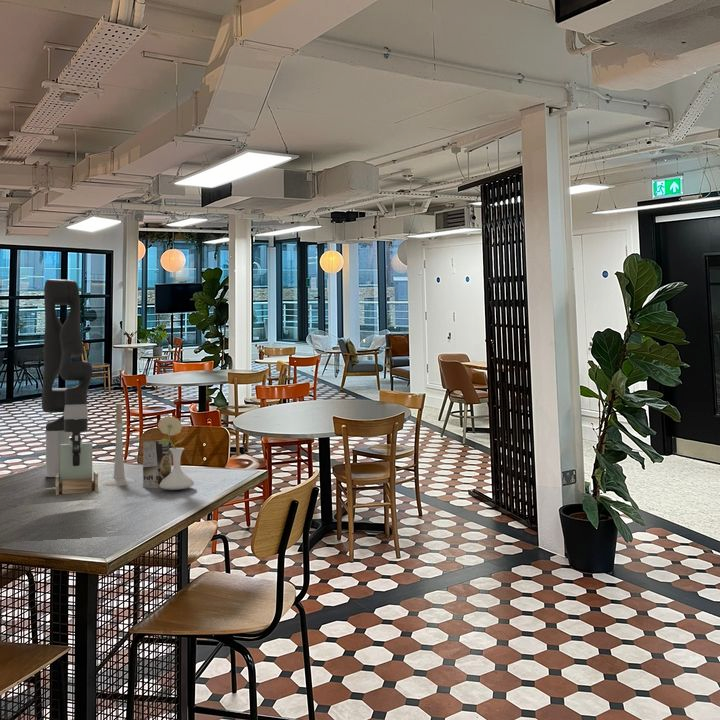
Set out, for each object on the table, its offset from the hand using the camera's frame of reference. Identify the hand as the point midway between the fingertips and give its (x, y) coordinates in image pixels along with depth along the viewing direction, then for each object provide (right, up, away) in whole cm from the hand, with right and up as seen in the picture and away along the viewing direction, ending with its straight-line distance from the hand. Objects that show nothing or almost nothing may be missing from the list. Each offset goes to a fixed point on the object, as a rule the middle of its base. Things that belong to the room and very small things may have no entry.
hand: (75, 465), depth 215 cm
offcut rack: (+1, -9, -2) cm, 9 cm away
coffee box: (+26, -9, +6) cm, 28 cm away
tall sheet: (0, -9, 0) cm, 9 cm away
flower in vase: (+35, -8, -3) cm, 36 cm away
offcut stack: (+2, -9, -4) cm, 10 cm away
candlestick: (+11, -9, +10) cm, 18 cm away
